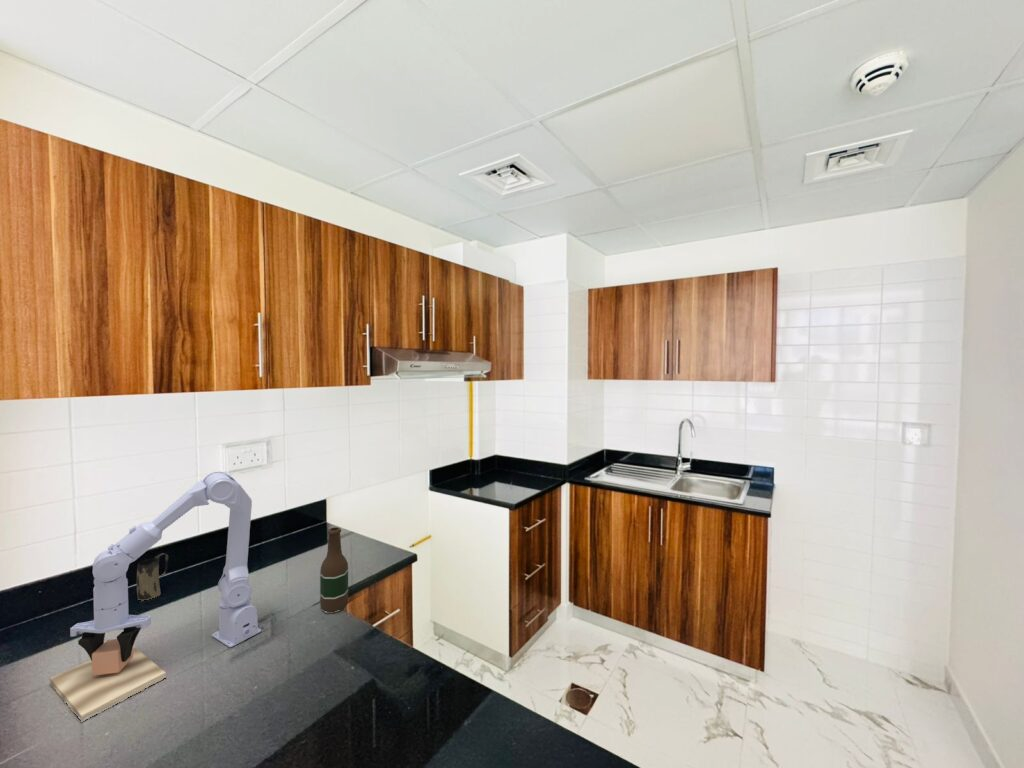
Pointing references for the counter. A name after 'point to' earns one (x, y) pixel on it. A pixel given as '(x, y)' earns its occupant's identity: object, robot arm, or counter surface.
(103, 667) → the terracotta cube
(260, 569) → the counter surface
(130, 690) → the birch board
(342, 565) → the beer bottle
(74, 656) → the counter surface
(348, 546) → the counter surface
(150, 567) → the mug
